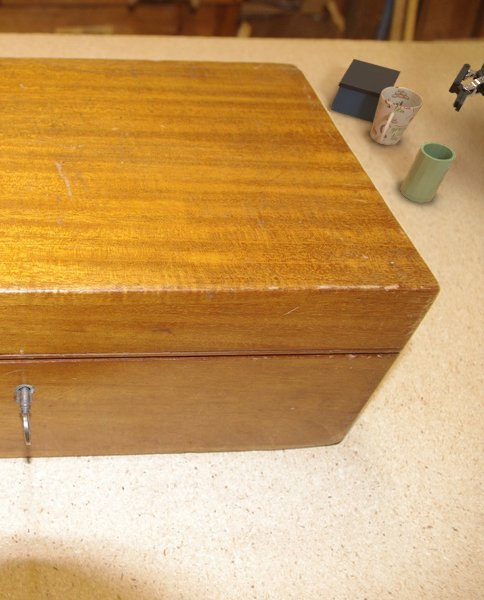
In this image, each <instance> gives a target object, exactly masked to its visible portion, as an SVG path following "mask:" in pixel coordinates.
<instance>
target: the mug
mask: <svg viewBox="0 0 484 600" xmlns="http://www.w3.org/2000/svg"><path fill="white" fill-rule="evenodd" d="M423 104H424V98H423V97H422V96H421V94H419V93H418V92H417V91H415V90H413V89H410V88H407V87H404V86H393V87H388V88H385V89H384V90H383V91H382V92H381V95H380V98H379V102H378V106H377V109H376V113H375V117H374V121H373V122H372V125H371V128H370V132H369V136H370V138H371V139H372V140H373V141H374V142H376V143H377V144H381V145H386V146H394V145H396V144H398V142H399V141H400V140H401V138H402V137H403V135H404V134H405V132H406V130H407V129H408V127H409V126H410V125H411V123H412V122H413V120H414V118H415V117H416V115H417V114H418V112H419V111H420V109H421V107H422V106H423Z"/></svg>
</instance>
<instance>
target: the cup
mask: <svg viewBox="0 0 484 600" xmlns="http://www.w3.org/2000/svg"><path fill="white" fill-rule="evenodd" d="M456 156H457V154H456V152H455V150H454V149H453V148H451V147H450V146H448V145H446V144H444V143H441V142H437V141H428V142H427V141H426V142H423V144H421V145H420V147H419V149H418V151H417V153H416V155H415V157H414V160H413V162H412V163H411V166H410V167H409V170H408V172H407V174H406V175H405V177H404V180H403V181H402V184H401V186H400V189H399V190H400V193H401V195H402V196H404V197H405V198H406V199H408V200H410V201H412V202H414V203H423V204H424V203H429V202H430V201H432V200H433V198H434V197H435V195H436V193H437V191H438V190H439V188H440V186H441V184H442V183H443V181H444V179H445V177H446V176H447V174H448V172H449V170H450V168H451V167H452V164H453V163H454V161H455V159H456Z"/></svg>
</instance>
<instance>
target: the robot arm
mask: <svg viewBox="0 0 484 600" xmlns="http://www.w3.org/2000/svg"><path fill="white" fill-rule="evenodd" d="M471 78H472V80H473V81H471V82H468V83H465V84H463V83H462V82H466V81H467V80H469V79H471ZM448 92H449V93H450V94H456V98H455V100H454V102H453V104H452V108H455V109H454V111H455V112H460V110H461V109H462V107H463V105H464V103H465V102H466V99H467V98H469V97H470V98H472V97H475V96H478V95H481V96H482V97H484V62H483V63H482V65H481V67H480V69H478V70H475V69H472V68H471V64H469V63H464V64H463V65H462V67H461V69H460V70H459V72H458V74H457V75H456V77H455V79H454V80H453V82H452V83H451V85H450V87H449V89H448Z"/></svg>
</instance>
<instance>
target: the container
mask: <svg viewBox="0 0 484 600" xmlns="http://www.w3.org/2000/svg"><path fill="white" fill-rule="evenodd" d="M400 75H401V70H397V69H395V68H394V69H393V68H390V67H386V66H382V65H378V64H375V63H371V62H368V61H364V60H361V59H356V58H353V59H352V61H351V63H350V64H349V66H348V68H347V69H346V71H345V73H344V74H343V76H342V78H341V79H340V81H339V82H338V85H337V86H338V90H337V93H336V96H335V98H334V101H333V104H332V106H331V110H332V111H335V112H338V113H341V114H345V115H349V116H352V117H354V118H357V119H361V120H365V121H369V122H371V123H373V121H374V117H375V113H376V109H377V106H378V102H379V98H380V95H381V92H382V91H383V90H384V89H385V88H388V87H395V84H396V83H397V81H398V79H399V76H400Z"/></svg>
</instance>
